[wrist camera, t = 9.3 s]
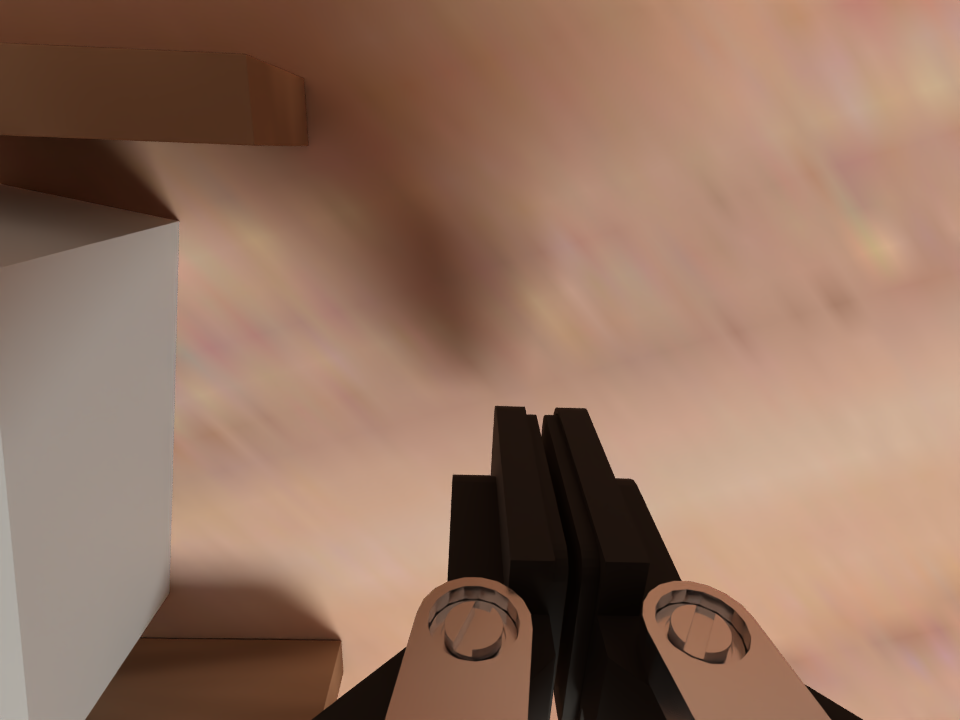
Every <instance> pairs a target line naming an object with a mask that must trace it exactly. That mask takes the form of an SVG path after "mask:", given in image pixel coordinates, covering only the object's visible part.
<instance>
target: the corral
mask: <svg viewBox="0 0 960 720" xmlns="http://www.w3.org/2000/svg"><path fill="white" fill-rule="evenodd" d="M0 135H11V136H36V137H60V138H85V139H109V140H134V141H158V142H183V143H208V144H232V145H268V146H308V131H307V116H306V101H305V86H304V78H302V77H299V76H297V75H295V74H292V73H290V72H287V71H285V70H283V69H280V68H278V67H276V66H273V65H271V64H268V63H266V62H264V61H261V60H259V59H256V58H254V57H252V56H249V55H247V54H235V53H213V52H192V51H170V50H148V49H126V48H105V47H83V46H61V45H40V44H18V43H0ZM342 675H343V660H342V645H341V641H330V640H242V639H154V638H139V639H138V641H137V642H136V644H135V645H134V647H133V648H132V650H131V651H130V653H129V654H128V656H127V657H126V659H125V660H124V662H123V663H122V665H121V666H120V668H119V669H118V671H117V672H116V674H115V675H114V677H113V678H112V680H111V681H110V683H109V684H108V686H107V687H106V689H105V690H104V692H103V693H102V695H101V696H100V698H99V699H98V701H97V703H96V704H95V706H94V707H93V709H92V710H91V712H90V713H89V715H88V716H87V718H86V719H85V720H312V719H313V718H314V717H315V716H317V715H318V714H319V713H321V712H322V711H323V710H325V709H326V708H327V707H329V706H330V705H331V704H332V703H334V702H335V701H336V700H337V696H338V692H339V688H340V684H341V680H342Z"/></svg>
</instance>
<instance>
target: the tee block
mask: <svg viewBox="0 0 960 720" xmlns="http://www.w3.org/2000/svg"><path fill="white" fill-rule="evenodd" d="M178 255H179V221H177V220H172V219H167V218H162V217H157V216H153V215H148V214H143V213H138V212H133V211H129V210H124V209H119V208H114V207H109V206H105V205H100V204H95V203H90V202H85V201H80V200H76V199H71V198H66V197H61V196H56V195H52V194H47V193H42V192H37V191H32V190H28V189H23V188H18V187H13V186H8V185H4V184H0V720H85V719H86V718H87V716H88V715H89V713H90V712H91V710H92V709H93V707H94V706H95V704H96V703H97V701H98V699H99V698H100V696H101V695H102V693H103V692H104V690H105V689H106V687H107V686H108V684H109V683H110V681H111V680H112V678H113V677H114V675H115V674H116V672H117V671H118V669H119V668H120V666H121V665H122V663H123V662H124V660H125V659H126V657H127V656H128V654H129V653H130V651H131V650H132V648H133V647H134V645H135V644H136V642H137V641H138V639H139V638H140V636H141V635H142V633H143V632H144V630H145V629H146V627H147V626H148V624H149V623H150V621H151V620H152V618H153V617H154V615H155V614H156V612H157V611H158V609H159V608H160V606H161V605H162V603H163V602H164V600H165V599H166V597H167V596H168V594H169V593H170V558H171V521H172V483H173V445H174V407H175V369H176V331H177V293H178Z"/></svg>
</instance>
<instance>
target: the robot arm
mask: <svg viewBox="0 0 960 720" xmlns="http://www.w3.org/2000/svg"><path fill="white" fill-rule="evenodd" d="M553 690H554V697H555V703H556V710H557V716H558V720H863V719H861V718H859V717H858V716H856V715H854V714H853V713H851V712H849V711H848V710H846V709H844V708H843V707H841V706H840V705H838V704H836V703H835V702H833V701H831V700H830V699H828V698H826V697H825V696H823V695H821V694H820V693H818V692H817V691H815V690H813V689H812V688H810V687H808V686H807V685H805V684H804V683H803V682H802V681H801V679H800V678H799V677H798V675H797V674H796V673H795V671H794V670H793V669H792V667H791V666H790V665H789V663H788V662H787V661H786V659H785V658H784V657H783V655H782V654H781V653H780V652H779V650H778V649H777V648H776V646H775V645H774V644H773V642H772V641H771V640H770V638H769V637H768V636H767V634H766V633H765V632H764V630H763V629H762V628H761V626H760V625H759V624H758V623H757V621H756V620H755V619H754V617H753V616H752V615H751V614H750V613H749V612H748V611H747V610H746V609H745V608H744V607H743V606H742V605H741V604H740V603H738V602H737V601H735V600H734V599H733V598H731V597H730V596H728V595H727V594H725V593H723V592H721V591H719V590H717V589H714V588H712V587H710V586H708V585H704V584H699V583H695V582H691V581H681V579H680V577H679V574H678V572H677V570H676V568H675V566H674V564H673V561H672V559H671V557H670V555H669V553H668V551H667V549H666V546H665V544H664V542H663V540H662V538H661V536H660V534H659V531H658V529H657V527H656V525H655V523H654V521H653V519H652V516H651V514H650V512H649V510H648V508H647V506H646V504H645V501H644V499H643V497H642V495H641V493H640V491H639V489H638V486H637V485H636V483H635V482H634V480H632V479H619V478H615V476H614V474H613V472H612V469H611V467H610V464H609V462H608V460H607V457H606V455H605V452H604V450H603V447H602V445H601V443H600V440H599V438H598V435H597V433H596V431H595V428H594V426H593V423H592V421H591V418H590V416H589V414H588V411H587V410H586V409H585V408H555V411H554V415H544V418H543V425H542V436H541V433H540V429H539V425H538V420H537V416H536V415H526V410H525V407H513V406H495V411H494V427H493V445H492V463H491V476H490V475H453V479H452V500H451V521H450V542H449V563H448V582H446V583H444V584H442V585H440V586H438V587H436V588H435V589H434V590H432V591H431V592H430V593H429V594H428V595H427V596H426V597H425V598H424V599H423V601H422V603H421V605H420V607H419V609H418V611H417V613H416V617H415V620H414V623H413V627H412V630H411V633H410V637H409V640H408V644H407V647H406V648H404V649H403V650H402V651H400V652H399V653H398V654H396V655H395V656H394V657H393V658H391V659H390V660H389V661H387V662H386V663H385V664H383V665H382V666H381V667H380V668H378V669H377V670H376V671H374V672H373V673H372V674H370V675H369V676H368V677H366V678H365V679H364V680H363V681H361V682H360V683H359V684H357V685H356V686H355V687H353V688H352V689H351V690H349V691H348V692H347V693H346V694H344V695H343V696H342V697H340V698H339V699H338V700H336V701H335V702H334V703H332V704H331V705H330V706H329V707H327V708H326V709H325V710H323V711H322V712H321V713H319V714H318V715H317V716H315V717H314V718H313V719H312V720H550V713H551V706H552V698H553Z"/></svg>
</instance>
